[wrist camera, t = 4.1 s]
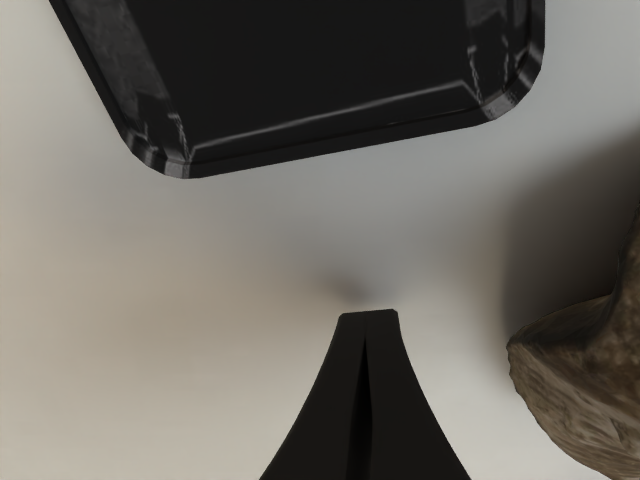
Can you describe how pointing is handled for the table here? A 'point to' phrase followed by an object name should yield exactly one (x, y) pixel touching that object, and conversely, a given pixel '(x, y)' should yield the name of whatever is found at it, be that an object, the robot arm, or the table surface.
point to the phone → (298, 73)
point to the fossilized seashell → (588, 372)
